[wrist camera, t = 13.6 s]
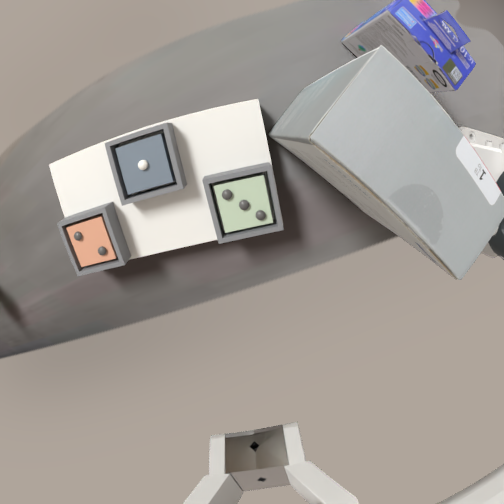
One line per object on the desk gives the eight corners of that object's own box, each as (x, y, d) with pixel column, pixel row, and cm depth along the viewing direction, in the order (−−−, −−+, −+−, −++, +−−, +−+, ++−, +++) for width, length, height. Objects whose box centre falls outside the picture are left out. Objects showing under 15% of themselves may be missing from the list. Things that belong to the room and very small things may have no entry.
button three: (261, 172, 31) (264, 175, 29) (270, 216, 33) (273, 223, 31) (214, 182, 31) (213, 186, 29) (225, 226, 33) (225, 233, 31)
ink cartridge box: (417, 74, 30) (494, 64, 17) (395, 99, 31) (471, 95, 18) (364, 18, 27) (427, -22, 14) (339, 41, 28) (397, 3, 15)
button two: (107, 211, 32) (100, 217, 29) (121, 251, 34) (115, 259, 31) (73, 222, 32) (65, 228, 30) (88, 260, 34) (80, 268, 32)
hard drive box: (397, 166, 35) (512, 210, 16) (362, 211, 37) (458, 288, 19) (303, 84, 31) (384, 42, 12) (264, 135, 33) (304, 143, 14)
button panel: (255, 101, 31) (260, 96, 26) (279, 217, 37) (287, 232, 32) (61, 161, 32) (37, 168, 27) (93, 260, 37) (77, 279, 32)
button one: (165, 133, 29) (160, 133, 27) (176, 178, 31) (172, 182, 29) (121, 147, 29) (114, 148, 27) (133, 190, 31) (127, 195, 29)
